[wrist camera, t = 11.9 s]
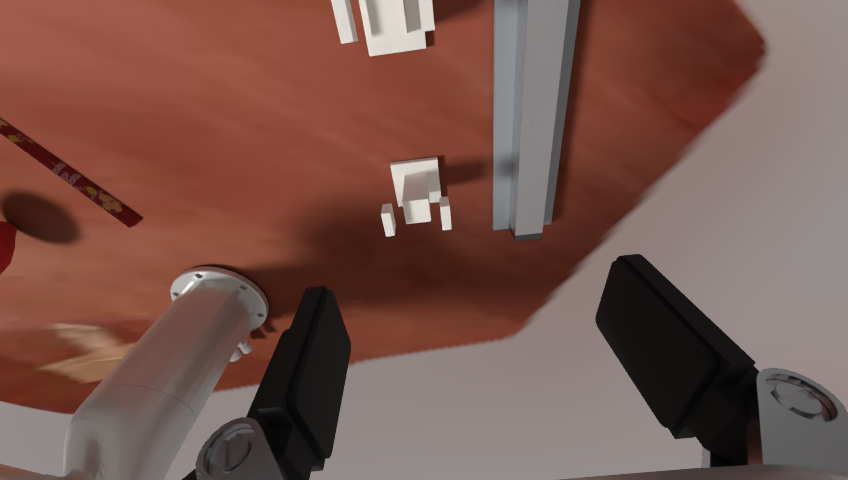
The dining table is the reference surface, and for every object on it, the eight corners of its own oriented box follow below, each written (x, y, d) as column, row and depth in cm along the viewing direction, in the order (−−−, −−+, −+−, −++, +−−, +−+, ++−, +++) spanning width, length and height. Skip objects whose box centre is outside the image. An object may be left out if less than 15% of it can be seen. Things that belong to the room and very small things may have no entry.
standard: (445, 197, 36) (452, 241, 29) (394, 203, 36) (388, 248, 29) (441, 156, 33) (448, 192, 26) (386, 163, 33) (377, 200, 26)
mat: (549, 222, 38) (551, 224, 38) (492, 228, 38) (493, 230, 38) (587, -70, 23) (590, -72, 23) (494, -56, 24) (495, -57, 23)
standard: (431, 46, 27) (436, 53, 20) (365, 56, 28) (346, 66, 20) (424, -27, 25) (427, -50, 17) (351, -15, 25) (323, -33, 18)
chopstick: (-143, 10, 26) (-160, 9, 25) (144, 216, 37) (138, 220, 36) (-148, 26, 26) (-166, 26, 25) (135, 224, 38) (129, 228, 37)
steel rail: (533, 224, 38) (541, 238, 35) (508, 227, 38) (514, 241, 35) (560, -63, 23) (577, -74, 21) (519, -57, 23) (531, -66, 21)
